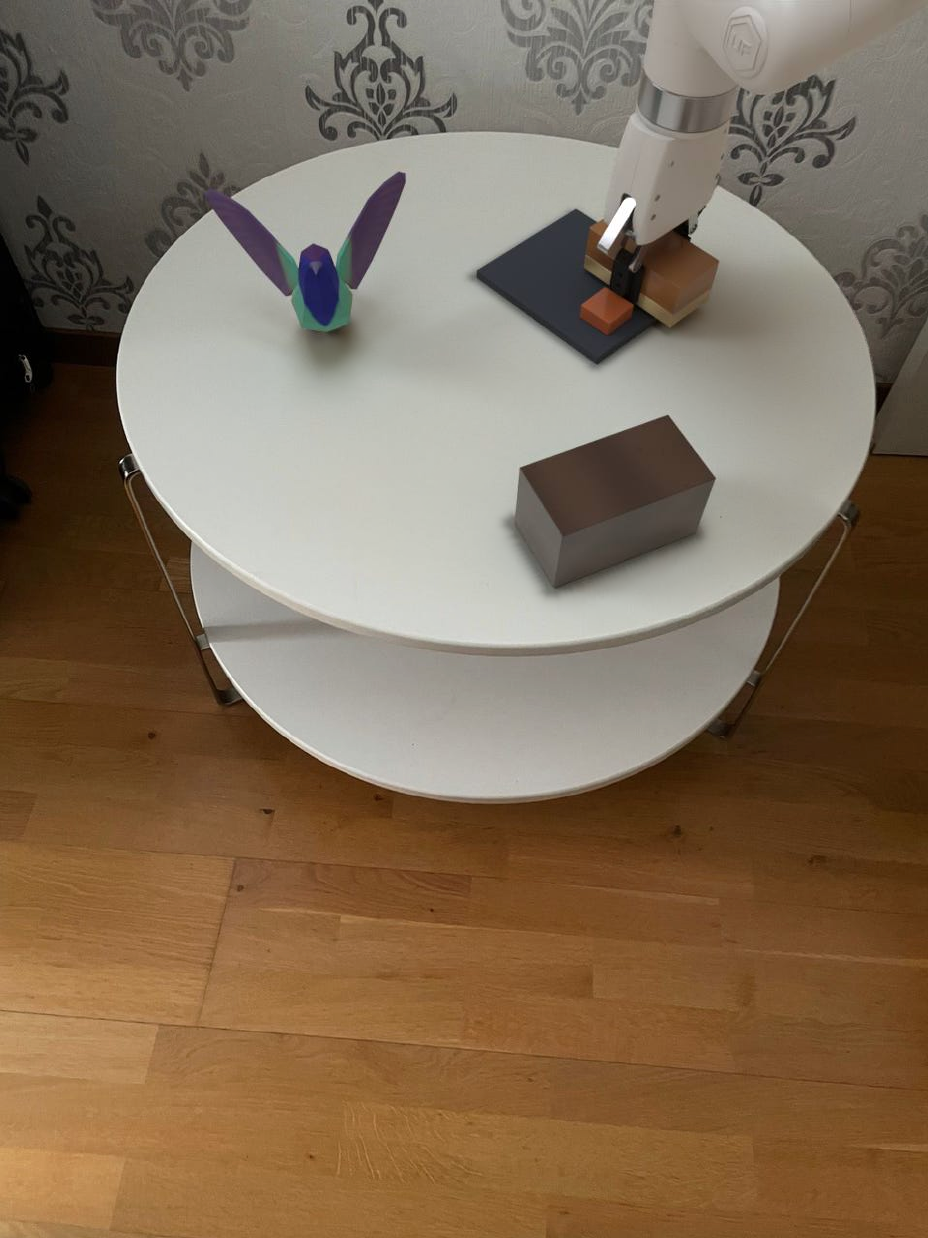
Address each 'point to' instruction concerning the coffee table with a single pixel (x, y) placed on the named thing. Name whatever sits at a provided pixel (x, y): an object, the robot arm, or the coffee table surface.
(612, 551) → the stand
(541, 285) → the mat
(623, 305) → the orange square block
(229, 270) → the coffee table surface
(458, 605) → the coffee table surface
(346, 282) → the decorative sculpture
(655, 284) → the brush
